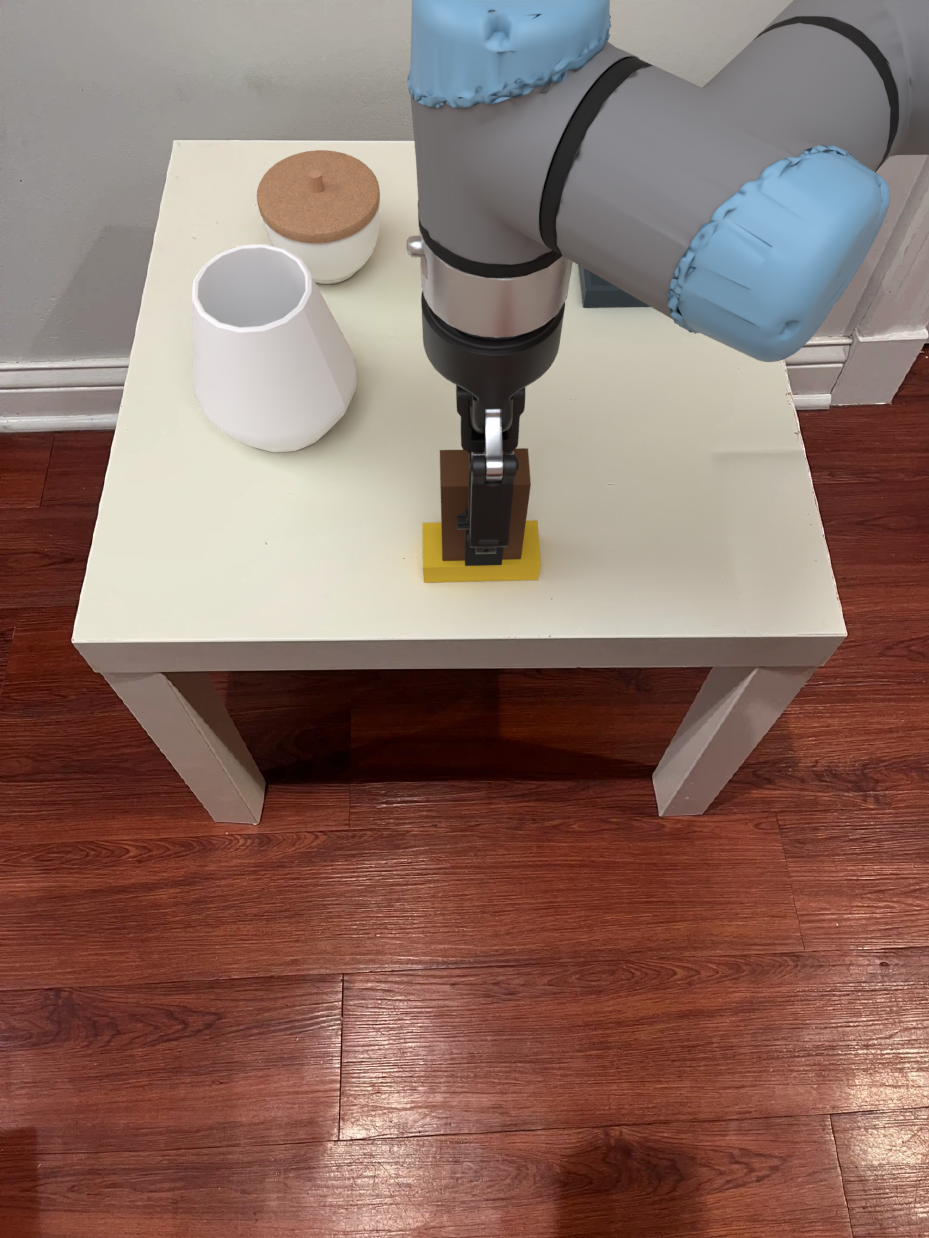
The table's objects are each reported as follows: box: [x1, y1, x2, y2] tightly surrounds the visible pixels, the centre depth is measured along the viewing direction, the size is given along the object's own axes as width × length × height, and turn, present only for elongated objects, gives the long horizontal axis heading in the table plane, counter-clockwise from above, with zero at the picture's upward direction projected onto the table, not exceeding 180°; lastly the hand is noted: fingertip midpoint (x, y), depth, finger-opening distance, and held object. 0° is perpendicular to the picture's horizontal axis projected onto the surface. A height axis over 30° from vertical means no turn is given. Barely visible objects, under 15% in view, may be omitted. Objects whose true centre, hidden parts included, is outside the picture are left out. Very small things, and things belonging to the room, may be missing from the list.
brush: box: [421, 447, 542, 583], centre depth 66 cm, size 9×4×12 cm, turn 92°
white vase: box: [191, 243, 357, 454], centre depth 71 cm, size 13×13×14 cm
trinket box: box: [256, 149, 381, 285], centre depth 81 cm, size 11×11×9 cm
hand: (481, 528), depth 67 cm, fingers open, 5 cm apart
